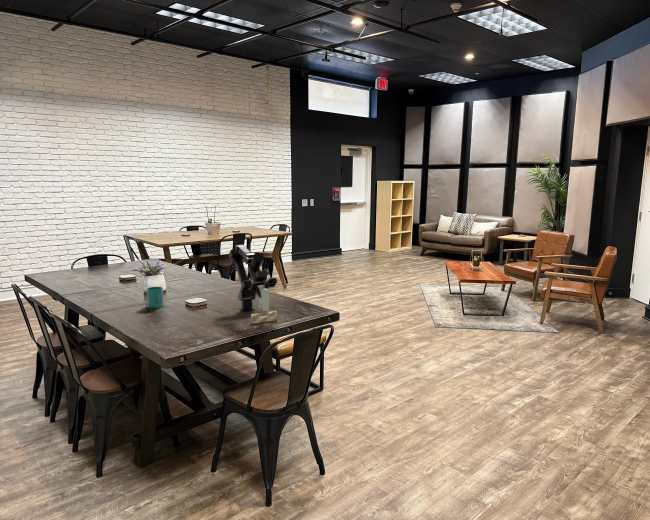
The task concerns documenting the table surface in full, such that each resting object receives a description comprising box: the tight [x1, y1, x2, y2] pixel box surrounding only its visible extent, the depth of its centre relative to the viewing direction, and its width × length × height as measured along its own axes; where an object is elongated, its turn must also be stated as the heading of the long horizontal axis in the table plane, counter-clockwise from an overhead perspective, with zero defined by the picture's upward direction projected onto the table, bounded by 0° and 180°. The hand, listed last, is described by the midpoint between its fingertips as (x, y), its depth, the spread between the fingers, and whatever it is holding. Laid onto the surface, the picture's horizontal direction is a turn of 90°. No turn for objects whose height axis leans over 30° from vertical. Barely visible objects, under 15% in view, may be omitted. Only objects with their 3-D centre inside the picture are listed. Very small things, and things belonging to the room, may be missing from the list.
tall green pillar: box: [258, 286, 270, 312], centre depth 253 cm, size 7×3×11 cm, turn 29°
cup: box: [146, 286, 165, 309], centre depth 284 cm, size 9×12×11 cm
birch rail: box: [250, 310, 278, 324], centre depth 255 cm, size 14×2×4 cm, turn 119°
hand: (263, 297), depth 252 cm, fingers closed on tall green pillar, 3 cm apart
